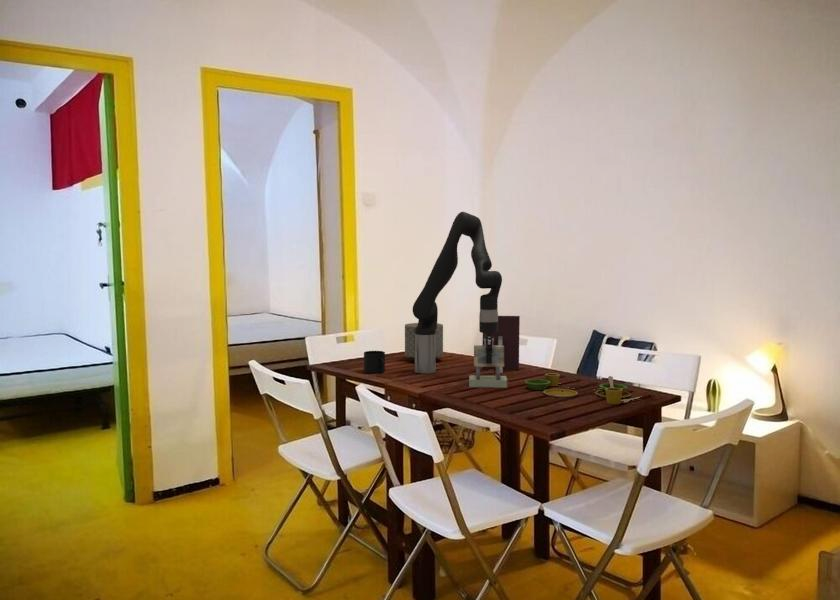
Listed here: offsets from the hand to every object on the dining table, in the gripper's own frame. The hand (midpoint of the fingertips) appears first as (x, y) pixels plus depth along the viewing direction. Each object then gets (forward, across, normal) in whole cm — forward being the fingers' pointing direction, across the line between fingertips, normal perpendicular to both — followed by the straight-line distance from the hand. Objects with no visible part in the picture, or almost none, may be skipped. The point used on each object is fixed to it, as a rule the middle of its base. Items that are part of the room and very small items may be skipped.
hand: (488, 362), depth 258 cm
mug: (+9, +24, +50) cm, 56 cm away
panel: (+1, 0, 0) cm, 1 cm away
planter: (+9, +57, +30) cm, 65 cm away
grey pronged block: (+9, 0, 0) cm, 9 cm away
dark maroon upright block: (+10, +31, -6) cm, 33 cm away
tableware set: (+10, -13, -34) cm, 38 cm away
